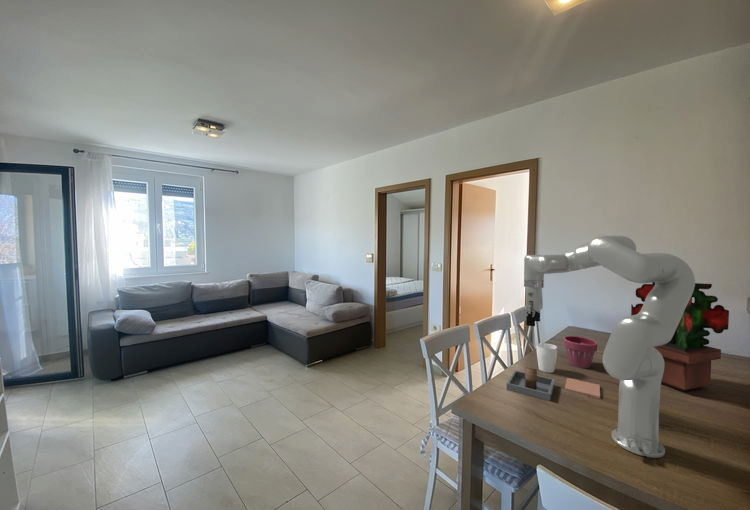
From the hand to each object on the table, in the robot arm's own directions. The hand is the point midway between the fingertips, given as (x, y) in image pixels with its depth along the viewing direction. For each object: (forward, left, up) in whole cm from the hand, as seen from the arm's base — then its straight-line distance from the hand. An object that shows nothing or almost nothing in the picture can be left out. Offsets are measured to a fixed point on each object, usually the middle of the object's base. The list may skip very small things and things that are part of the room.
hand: (533, 323), depth 130 cm
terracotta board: (+11, -18, -28) cm, 35 cm away
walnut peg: (-2, 0, -28) cm, 28 cm away
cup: (+24, -3, -29) cm, 38 cm away
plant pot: (+41, -16, -29) cm, 53 cm away
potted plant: (+40, -51, -29) cm, 71 cm away
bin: (-2, 0, -28) cm, 28 cm away
